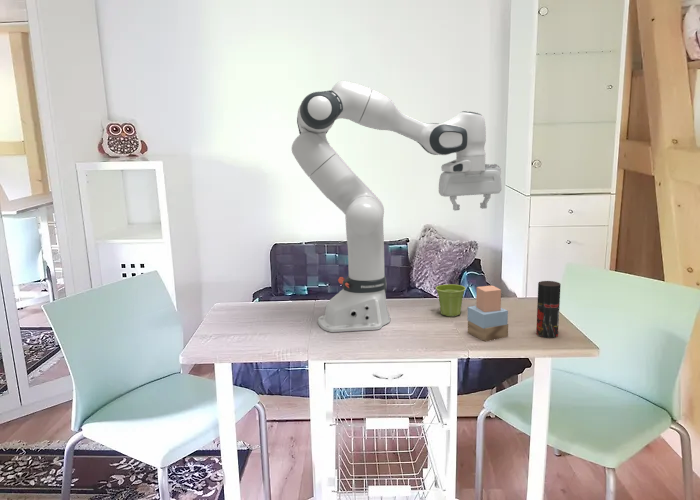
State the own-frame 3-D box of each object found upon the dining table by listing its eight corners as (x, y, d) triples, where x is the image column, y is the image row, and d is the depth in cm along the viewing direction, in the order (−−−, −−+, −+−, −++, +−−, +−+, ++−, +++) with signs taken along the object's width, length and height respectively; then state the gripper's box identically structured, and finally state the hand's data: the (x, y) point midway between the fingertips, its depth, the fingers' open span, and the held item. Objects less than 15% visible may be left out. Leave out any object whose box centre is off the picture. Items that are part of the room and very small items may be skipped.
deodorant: (559, 338, 164) (562, 286, 161) (537, 337, 165) (539, 286, 162) (556, 331, 169) (559, 281, 166) (535, 330, 171) (537, 280, 168)
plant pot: (433, 310, 192) (433, 284, 190) (461, 308, 193) (462, 283, 191) (438, 319, 183) (438, 292, 181) (468, 317, 183) (468, 291, 182)
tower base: (485, 342, 163) (485, 328, 162) (467, 334, 170) (467, 320, 169) (507, 337, 166) (508, 324, 166) (489, 329, 173) (489, 316, 173)
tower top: (483, 328, 162) (483, 314, 162) (467, 320, 170) (467, 306, 169) (507, 324, 165) (507, 310, 165) (490, 316, 173) (491, 303, 172)
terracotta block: (484, 312, 164) (484, 291, 163) (476, 307, 168) (476, 287, 167) (500, 310, 165) (501, 289, 164) (492, 305, 170) (492, 285, 168)
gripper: (495, 163, 188) (494, 206, 190) (436, 165, 182) (436, 210, 185) (505, 164, 182) (504, 208, 184) (445, 167, 176) (444, 212, 179)
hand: (470, 209), depth 185 cm, fingers open, 8 cm apart
